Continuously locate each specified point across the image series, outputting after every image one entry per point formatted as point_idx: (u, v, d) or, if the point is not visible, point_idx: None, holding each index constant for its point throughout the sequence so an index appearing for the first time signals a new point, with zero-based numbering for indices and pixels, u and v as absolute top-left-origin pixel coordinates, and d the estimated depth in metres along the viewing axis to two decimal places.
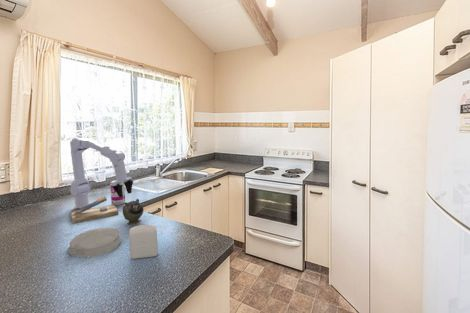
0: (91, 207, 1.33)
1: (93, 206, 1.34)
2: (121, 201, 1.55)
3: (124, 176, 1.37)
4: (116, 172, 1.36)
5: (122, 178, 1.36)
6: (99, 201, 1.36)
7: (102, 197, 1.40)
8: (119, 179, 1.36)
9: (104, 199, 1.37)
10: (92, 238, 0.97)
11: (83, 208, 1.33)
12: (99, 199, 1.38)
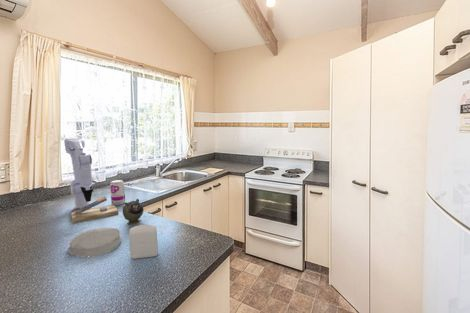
0: (91, 207, 1.33)
1: (93, 206, 1.34)
2: (121, 201, 1.55)
3: (91, 180, 1.34)
4: (79, 176, 1.31)
5: (90, 182, 1.32)
6: (99, 201, 1.36)
7: (102, 197, 1.40)
8: (88, 183, 1.31)
9: (104, 199, 1.37)
10: (92, 238, 0.97)
11: (83, 208, 1.33)
12: (99, 199, 1.38)
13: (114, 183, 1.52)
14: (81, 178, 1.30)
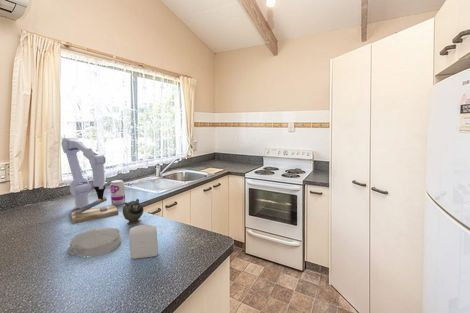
0: (91, 207, 1.33)
1: (93, 206, 1.34)
2: (121, 201, 1.55)
3: (104, 179, 1.37)
4: (93, 175, 1.34)
5: (103, 181, 1.36)
6: (99, 201, 1.36)
7: None
8: (101, 182, 1.35)
9: (104, 199, 1.37)
10: (92, 238, 0.97)
11: (83, 208, 1.33)
12: (99, 199, 1.38)
13: (114, 183, 1.52)
14: (94, 177, 1.34)
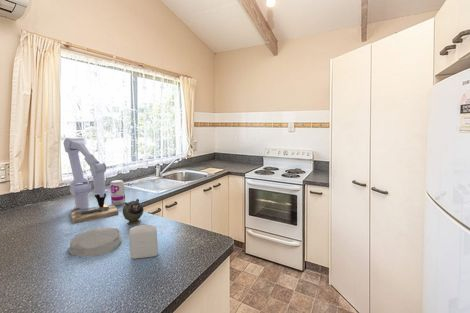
0: (92, 211, 1.34)
1: (94, 210, 1.34)
2: (121, 201, 1.55)
3: None
4: (94, 183, 1.34)
5: (104, 189, 1.37)
6: (101, 207, 1.37)
7: (105, 204, 1.41)
8: (101, 190, 1.35)
9: (107, 207, 1.38)
10: (92, 238, 0.97)
11: (84, 210, 1.33)
12: None
13: (114, 183, 1.52)
14: (95, 185, 1.34)
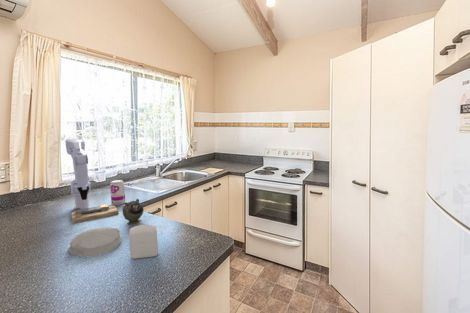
0: (92, 211, 1.34)
1: (94, 210, 1.34)
2: (121, 201, 1.55)
3: (88, 180, 1.35)
4: (76, 175, 1.32)
5: (87, 182, 1.34)
6: (101, 207, 1.37)
7: (105, 204, 1.41)
8: (84, 183, 1.32)
9: (107, 207, 1.38)
10: (92, 238, 0.97)
11: (84, 210, 1.33)
12: (102, 205, 1.39)
13: (114, 183, 1.52)
14: (78, 178, 1.31)
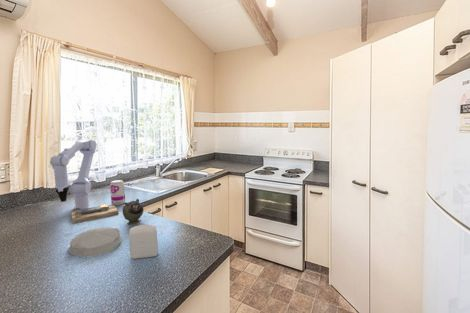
0: (92, 211, 1.34)
1: (94, 210, 1.34)
2: (121, 201, 1.55)
3: (67, 181, 1.31)
4: None
5: (65, 183, 1.30)
6: (101, 207, 1.37)
7: (105, 204, 1.41)
8: (62, 184, 1.29)
9: (107, 207, 1.38)
10: (92, 238, 0.97)
11: (84, 210, 1.33)
12: (102, 205, 1.39)
13: (114, 183, 1.52)
14: (55, 179, 1.28)
